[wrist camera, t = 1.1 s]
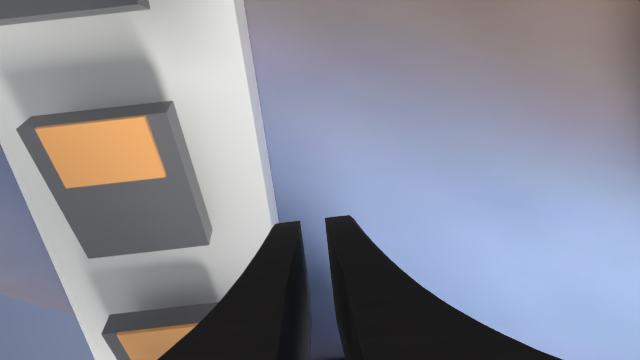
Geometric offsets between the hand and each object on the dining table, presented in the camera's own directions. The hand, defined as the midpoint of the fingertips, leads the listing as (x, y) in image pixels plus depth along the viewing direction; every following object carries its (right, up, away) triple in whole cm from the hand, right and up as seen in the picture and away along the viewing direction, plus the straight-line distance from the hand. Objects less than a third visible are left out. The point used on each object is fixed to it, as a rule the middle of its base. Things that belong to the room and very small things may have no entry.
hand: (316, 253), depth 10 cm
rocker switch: (-6, -6, +9) cm, 13 cm away
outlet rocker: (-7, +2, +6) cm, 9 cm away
